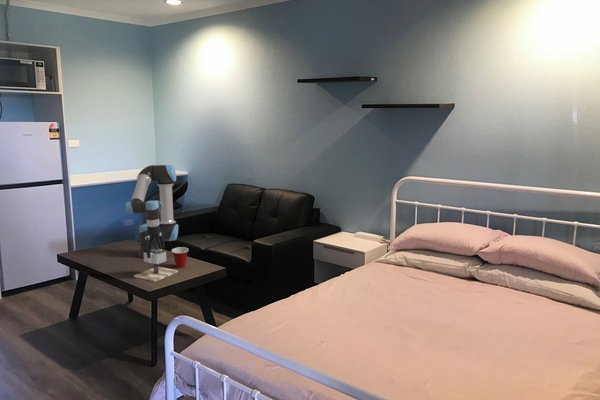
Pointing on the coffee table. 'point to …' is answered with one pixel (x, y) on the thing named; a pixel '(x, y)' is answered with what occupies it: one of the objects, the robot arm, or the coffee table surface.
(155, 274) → the keeper board
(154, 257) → the white box
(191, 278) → the coffee table surface
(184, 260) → the plastic cup
